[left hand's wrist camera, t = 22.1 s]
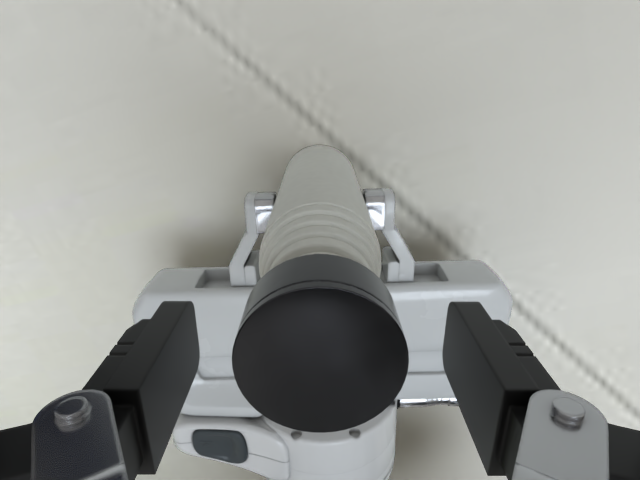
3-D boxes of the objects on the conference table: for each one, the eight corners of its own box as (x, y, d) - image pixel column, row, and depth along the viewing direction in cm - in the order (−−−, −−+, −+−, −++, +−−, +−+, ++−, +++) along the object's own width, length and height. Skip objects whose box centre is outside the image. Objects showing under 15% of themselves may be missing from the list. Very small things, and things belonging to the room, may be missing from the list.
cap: (298, 404, 14) (296, 456, 12) (213, 301, 12) (194, 343, 10) (422, 341, 13) (440, 387, 11) (345, 223, 11) (350, 253, 9)
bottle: (321, 129, 27) (325, 232, 10) (369, 182, 28) (447, 354, 11) (269, 179, 28) (192, 347, 11) (318, 227, 29) (316, 446, 12)
